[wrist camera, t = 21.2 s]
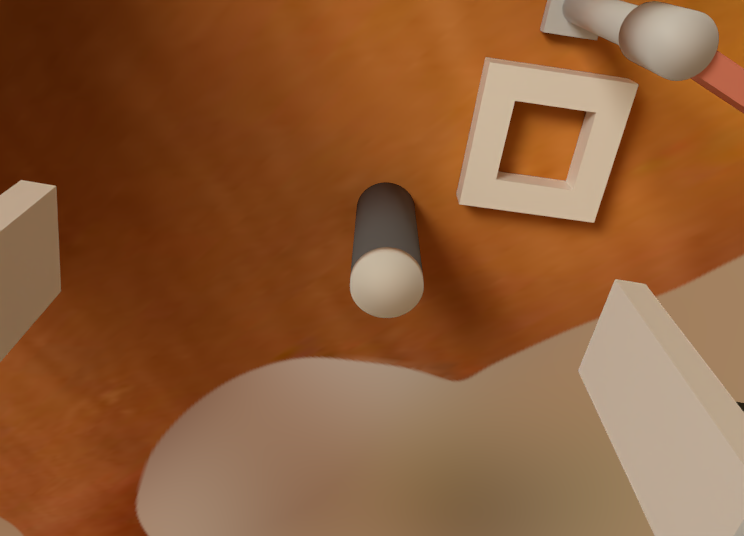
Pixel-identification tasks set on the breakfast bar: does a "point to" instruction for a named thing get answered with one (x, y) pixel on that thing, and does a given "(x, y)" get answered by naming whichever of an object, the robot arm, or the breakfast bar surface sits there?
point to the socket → (559, 89)
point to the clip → (681, 49)
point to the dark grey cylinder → (386, 253)
